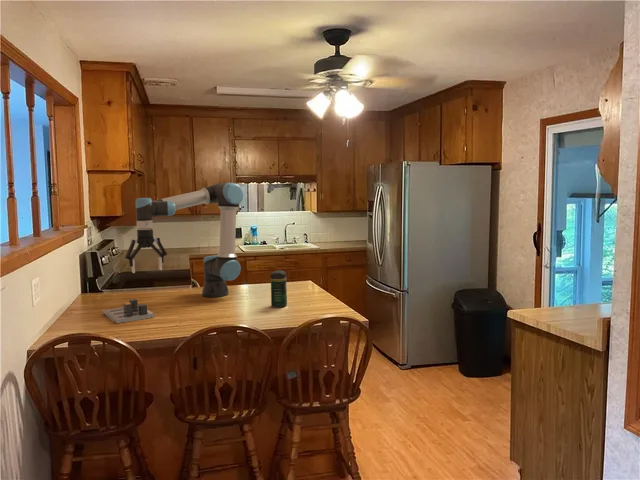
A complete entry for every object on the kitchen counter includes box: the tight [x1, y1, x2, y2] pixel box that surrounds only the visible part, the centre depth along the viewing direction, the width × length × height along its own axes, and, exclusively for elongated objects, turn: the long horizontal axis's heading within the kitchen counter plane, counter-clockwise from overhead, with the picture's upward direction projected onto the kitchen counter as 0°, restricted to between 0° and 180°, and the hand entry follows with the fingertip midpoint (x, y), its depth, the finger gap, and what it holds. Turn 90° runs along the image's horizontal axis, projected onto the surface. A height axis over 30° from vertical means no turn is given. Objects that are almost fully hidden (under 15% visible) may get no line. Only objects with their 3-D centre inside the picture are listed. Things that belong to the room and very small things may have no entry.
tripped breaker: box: [122, 302, 132, 313], centre depth 254 cm, size 4×3×4 cm
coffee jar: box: [270, 269, 288, 309], centre depth 266 cm, size 10×8×19 cm
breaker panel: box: [102, 298, 155, 324], centre depth 254 cm, size 24×18×6 cm
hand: (147, 271), depth 256 cm, fingers open, 13 cm apart
